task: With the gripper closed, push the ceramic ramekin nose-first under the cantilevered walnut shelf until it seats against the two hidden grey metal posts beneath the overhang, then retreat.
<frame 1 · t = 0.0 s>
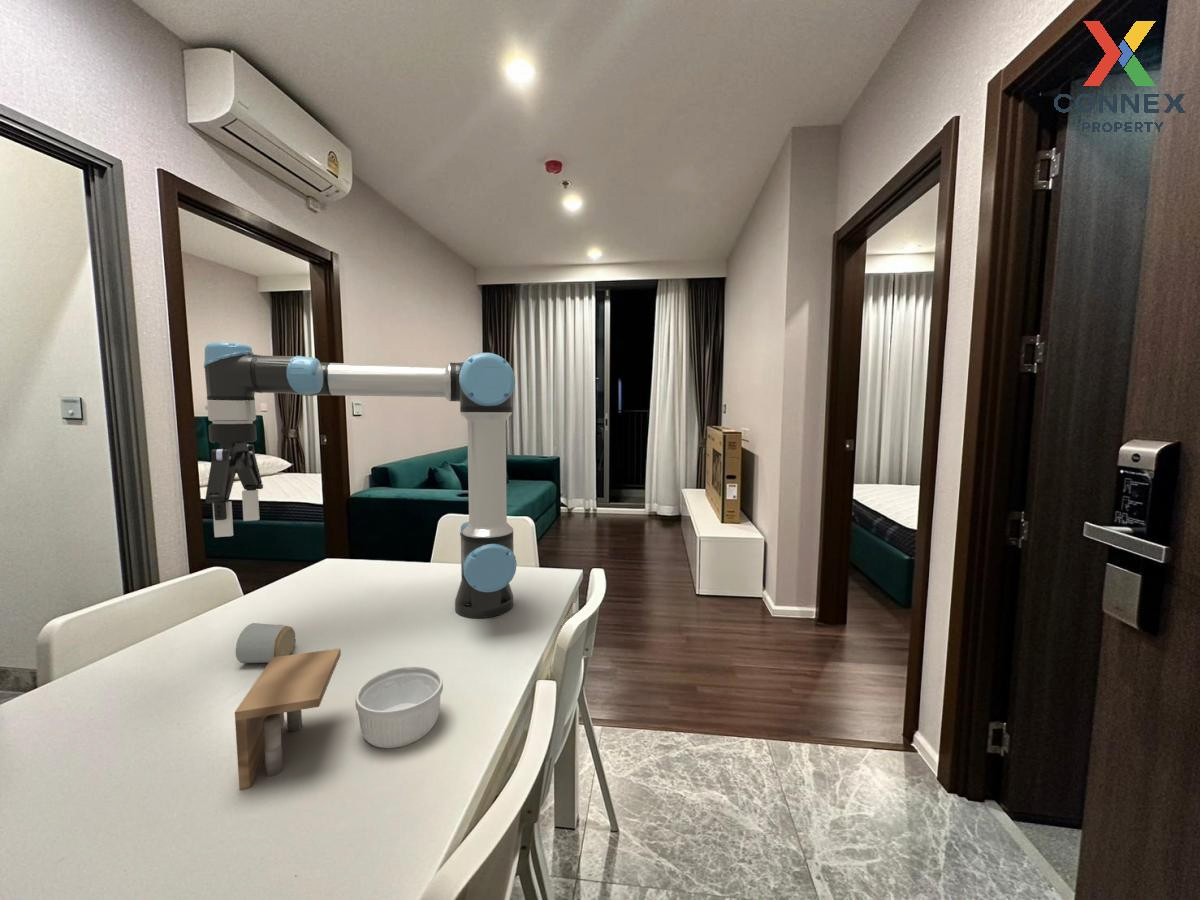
hand: (238, 527, 96), 28 cm above the table, fingers open, 13 cm apart
ramekin: (401, 727, 78), on the table
walnut shelf: (297, 745, 74), on the table
ceramic mug: (270, 658, 100), on the table
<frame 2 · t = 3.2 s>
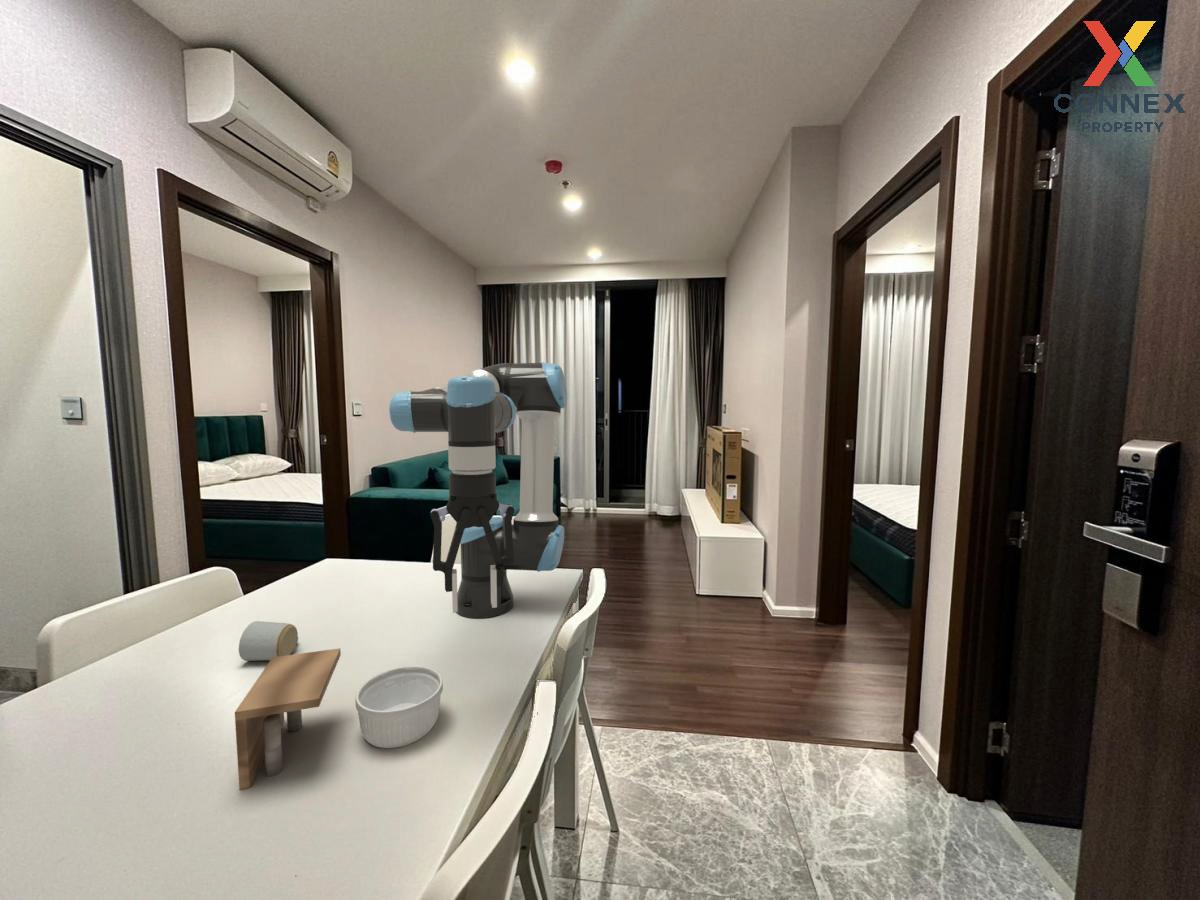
hand: (474, 606, 81), 19 cm above the table, fingers open, 6 cm apart
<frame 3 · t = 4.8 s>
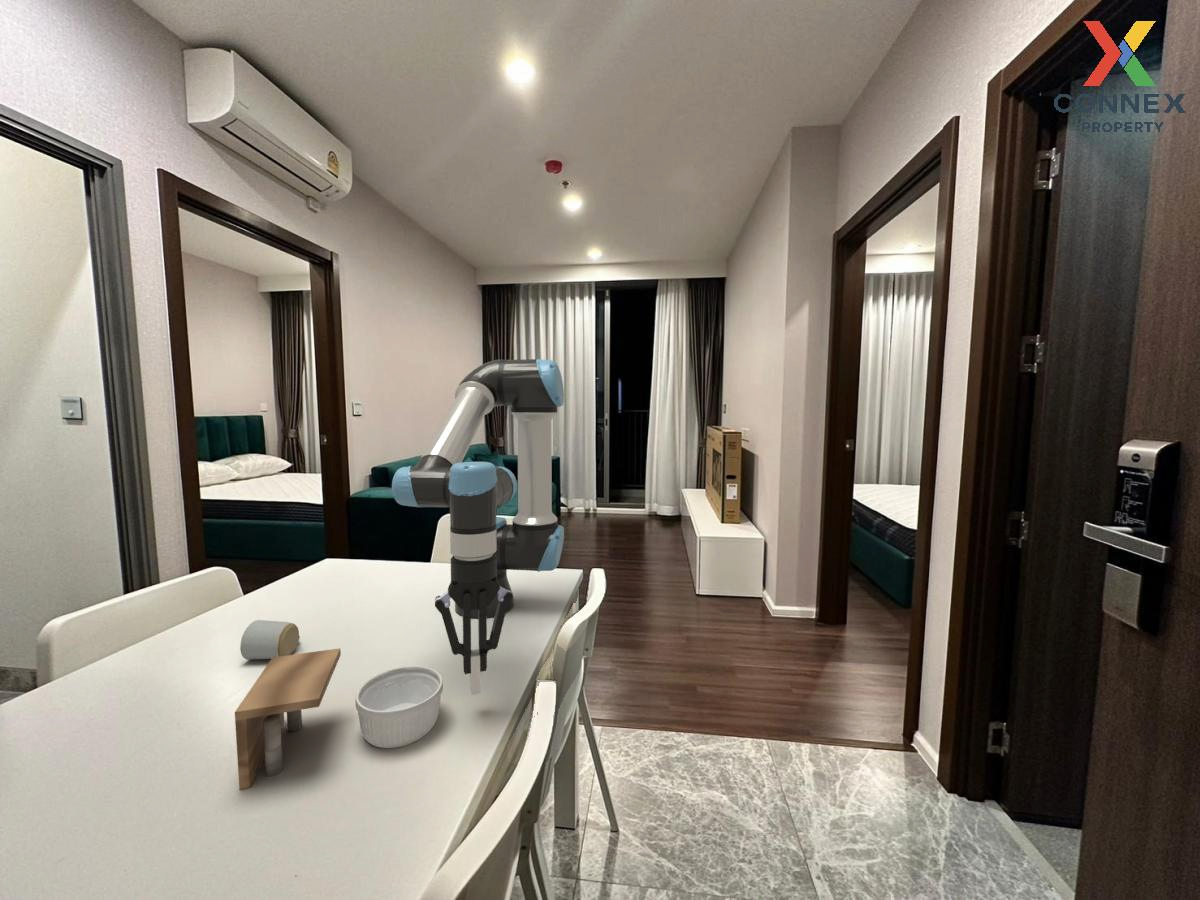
hand: (475, 689, 81), 4 cm above the table, fingers closed
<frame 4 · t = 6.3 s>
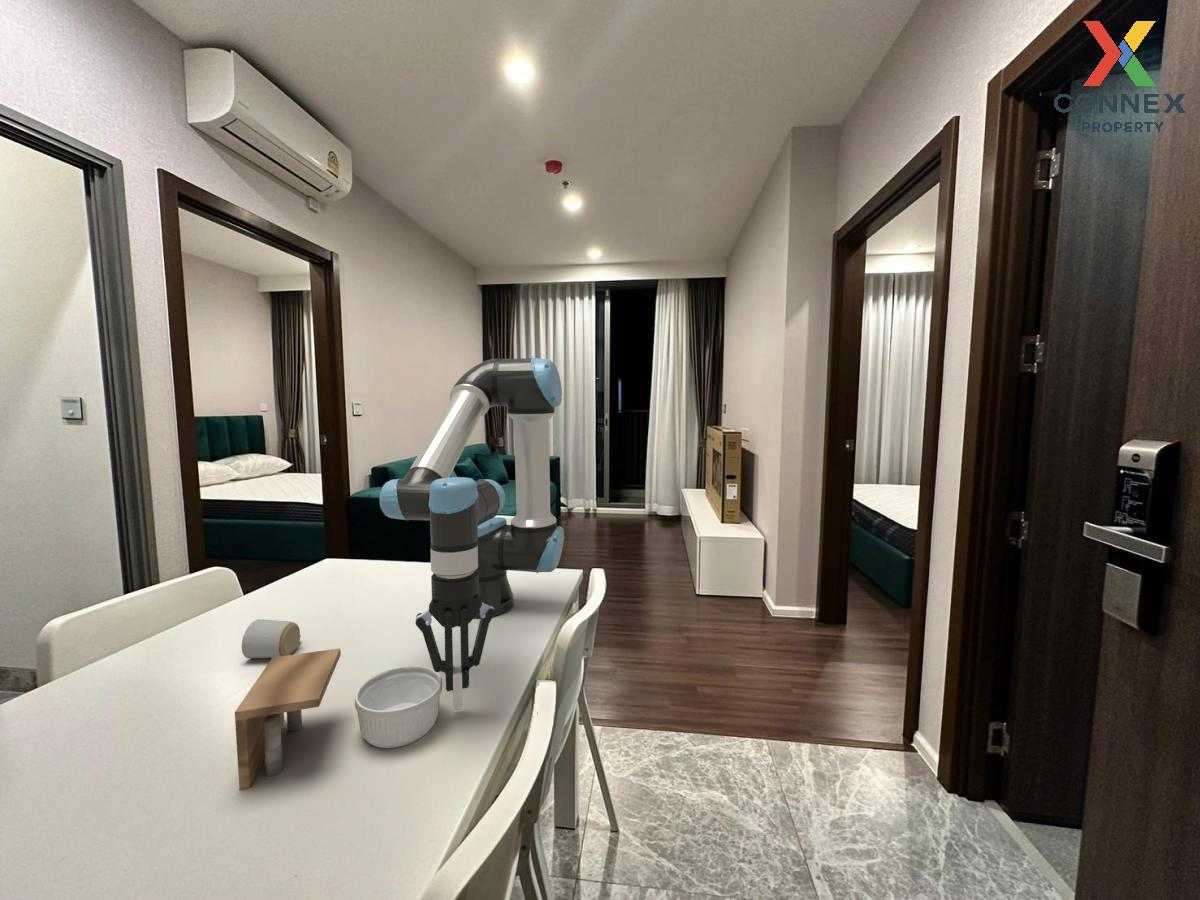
hand: (457, 706, 81), 2 cm above the table, fingers closed
ramekin: (400, 727, 78), on the table, touching gripper
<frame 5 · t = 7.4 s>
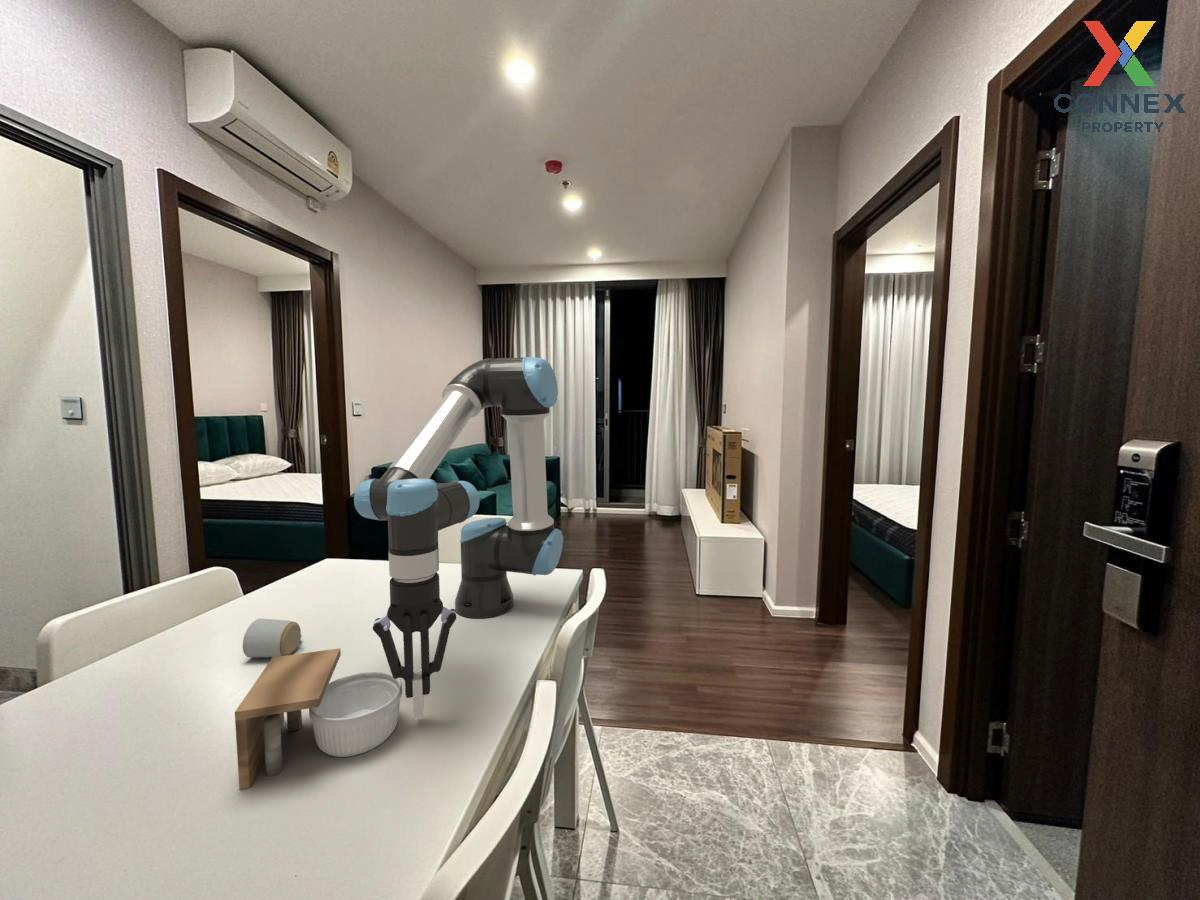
hand: (418, 713, 79), 2 cm above the table, fingers closed
ramekin: (358, 735, 76), on the table, touching gripper
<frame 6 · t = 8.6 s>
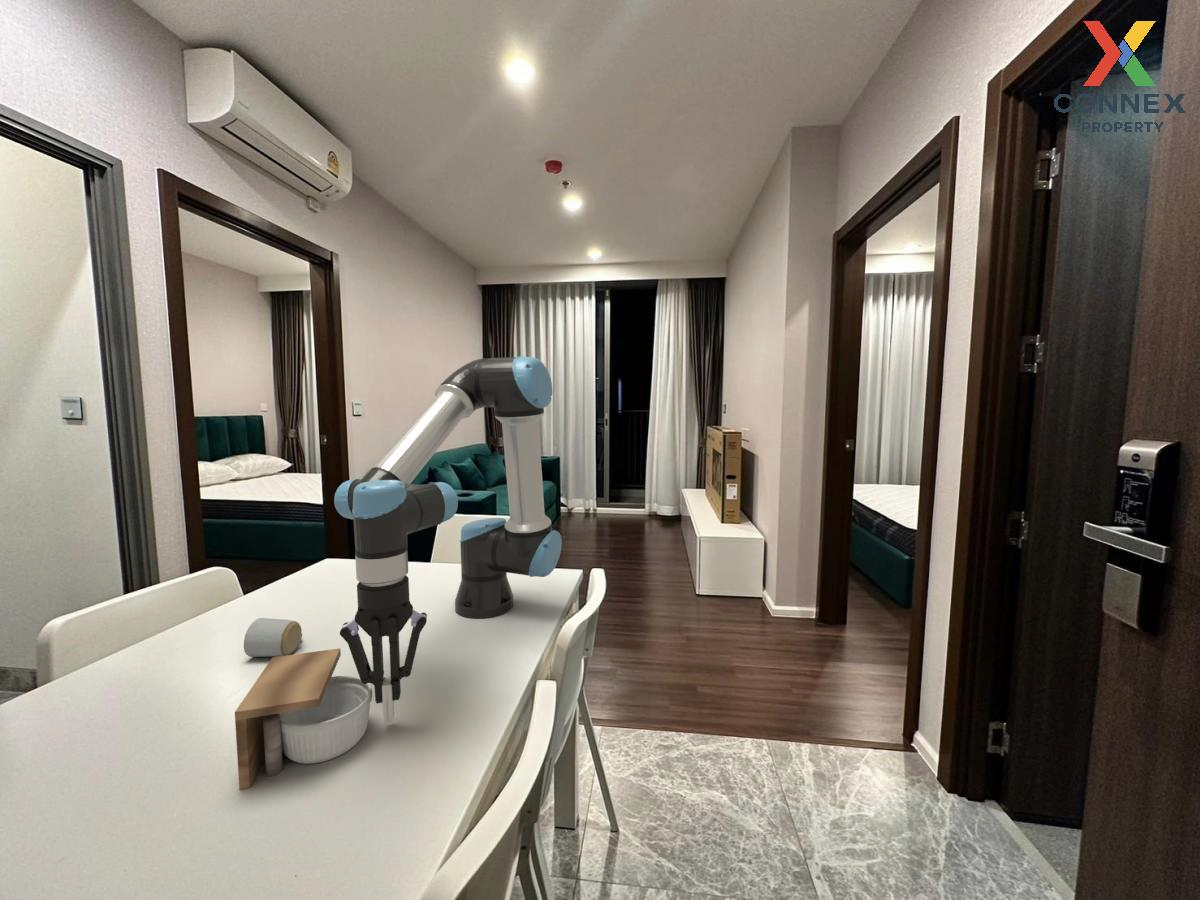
hand: (389, 718, 78), 2 cm above the table, fingers closed
ramekin: (327, 741, 75), on the table, touching gripper, walnut shelf
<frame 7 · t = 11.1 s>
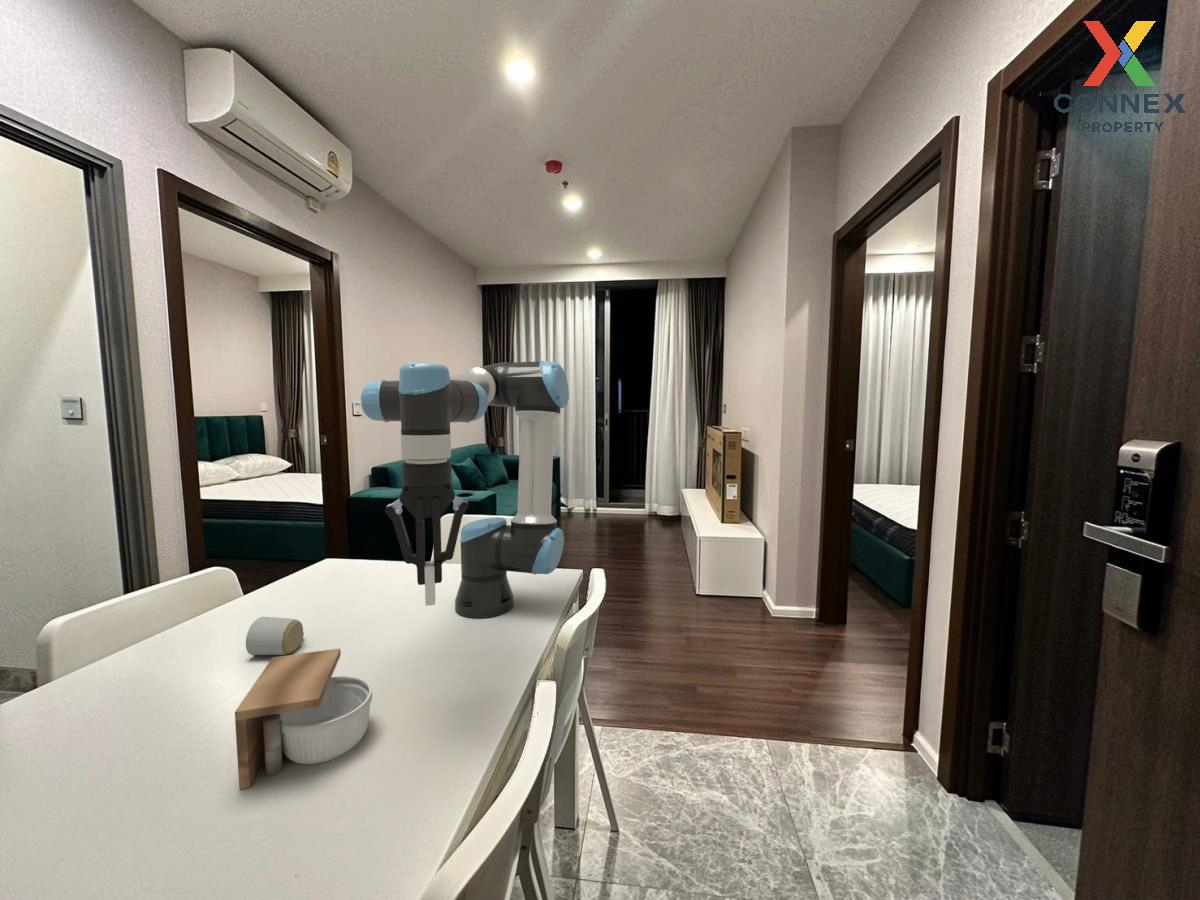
hand: (430, 602, 79), 20 cm above the table, fingers closed
ramekin: (327, 741, 75), on the table
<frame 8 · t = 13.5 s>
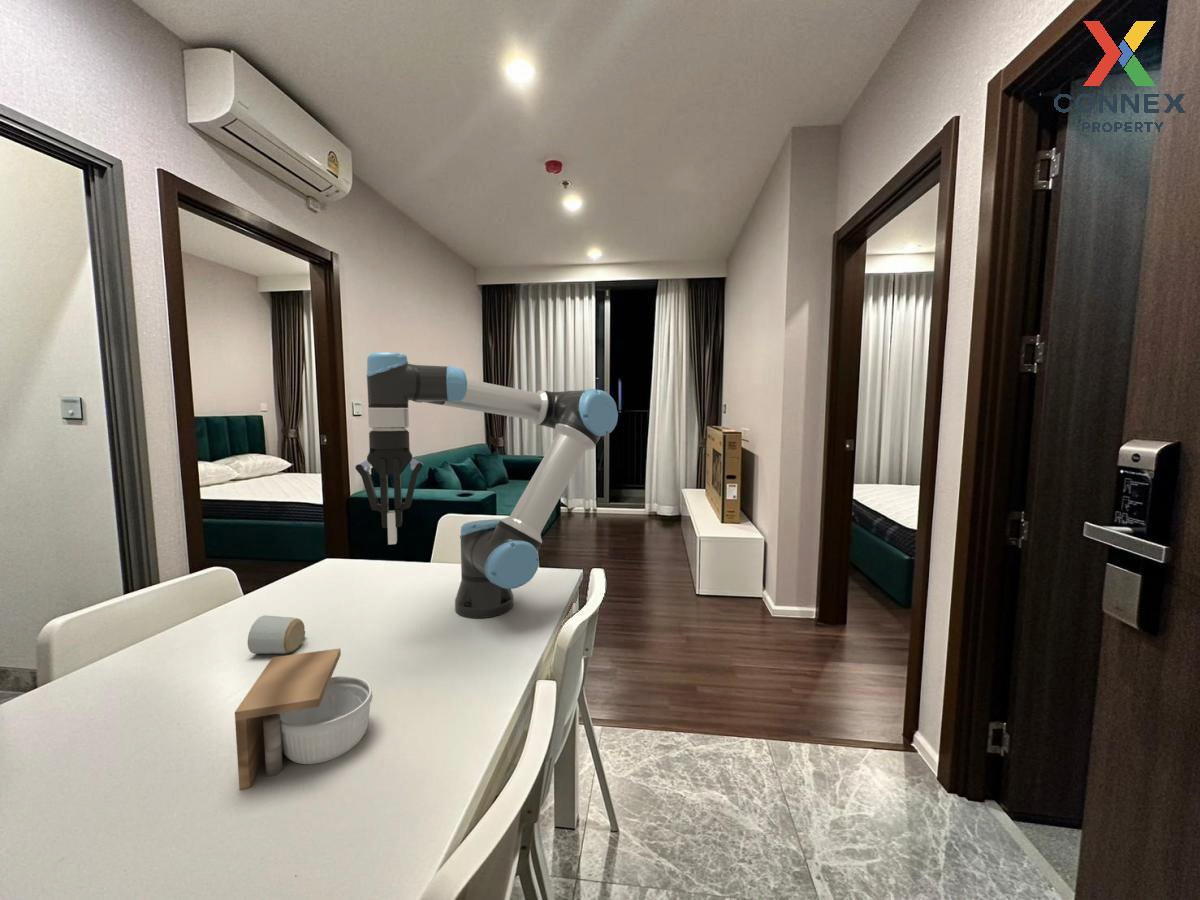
hand: (392, 542, 99), 24 cm above the table, fingers closed
at the end: ramekin 0.2 cm from the target spot on the walnut shelf, point 0.0 cm above the walnut shelf's base; ramekin tilted 0° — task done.
